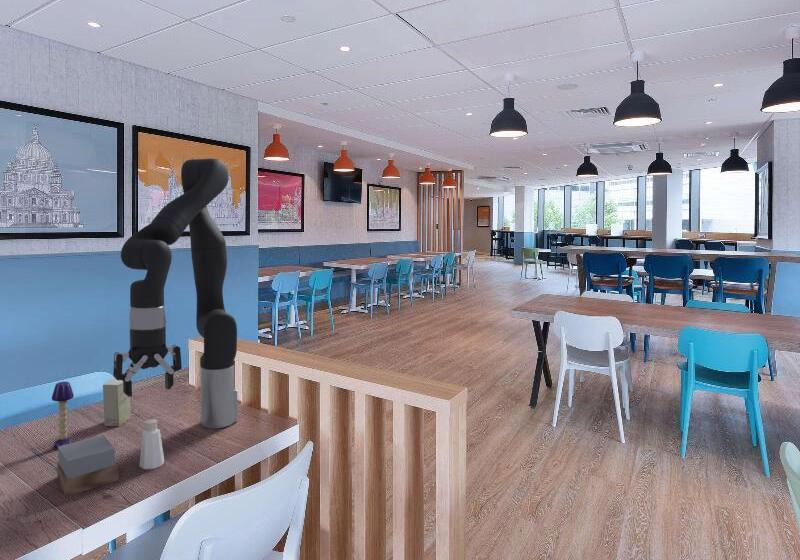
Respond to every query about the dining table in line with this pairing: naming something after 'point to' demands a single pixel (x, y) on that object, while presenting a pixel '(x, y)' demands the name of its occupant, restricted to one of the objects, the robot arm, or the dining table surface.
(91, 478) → the walnut base block
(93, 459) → the grey top block
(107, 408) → the skincare box
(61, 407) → the toy lamp
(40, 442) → the dining table surface
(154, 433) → the pepper shaker
